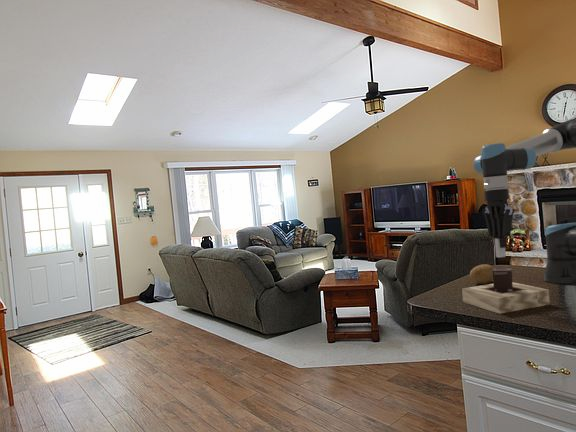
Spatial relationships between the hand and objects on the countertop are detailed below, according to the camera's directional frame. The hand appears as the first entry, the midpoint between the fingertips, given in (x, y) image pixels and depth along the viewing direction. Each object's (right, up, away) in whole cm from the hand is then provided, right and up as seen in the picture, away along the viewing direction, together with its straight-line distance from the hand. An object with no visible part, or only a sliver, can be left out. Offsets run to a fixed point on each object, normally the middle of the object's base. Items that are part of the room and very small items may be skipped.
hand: (501, 256), depth 148 cm
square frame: (+2, -16, +1) cm, 16 cm away
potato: (+9, -15, +34) cm, 38 cm away
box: (+2, -16, +1) cm, 17 cm away
